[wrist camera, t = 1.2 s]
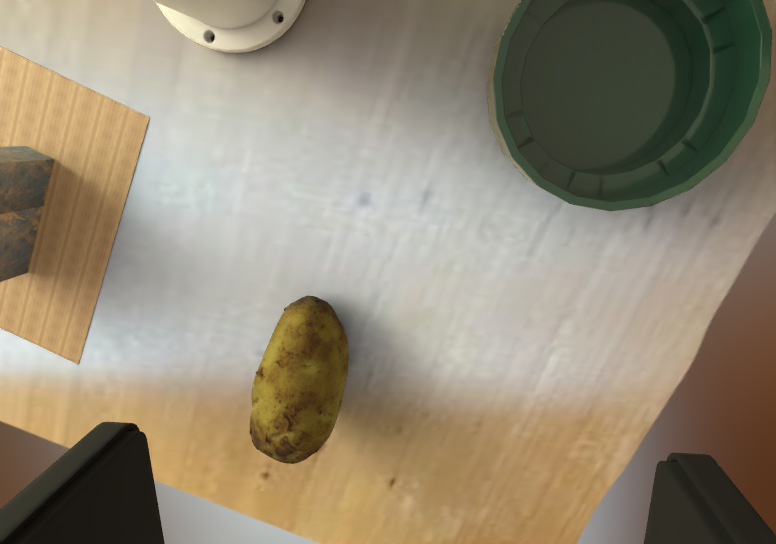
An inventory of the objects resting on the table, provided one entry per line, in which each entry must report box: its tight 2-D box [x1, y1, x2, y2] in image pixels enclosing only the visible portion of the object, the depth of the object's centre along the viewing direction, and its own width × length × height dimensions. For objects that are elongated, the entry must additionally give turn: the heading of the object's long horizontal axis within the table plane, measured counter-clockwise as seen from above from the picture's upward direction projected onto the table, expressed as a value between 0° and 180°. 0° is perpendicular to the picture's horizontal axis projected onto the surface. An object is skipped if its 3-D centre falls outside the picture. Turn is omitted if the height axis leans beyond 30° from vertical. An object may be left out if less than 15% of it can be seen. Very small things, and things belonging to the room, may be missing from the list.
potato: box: [250, 296, 349, 464], centre depth 41 cm, size 8×13×8 cm, turn 152°
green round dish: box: [486, 0, 772, 211], centre depth 34 cm, size 16×16×6 cm
